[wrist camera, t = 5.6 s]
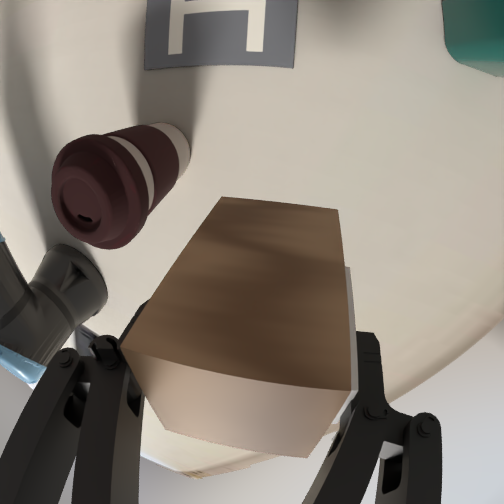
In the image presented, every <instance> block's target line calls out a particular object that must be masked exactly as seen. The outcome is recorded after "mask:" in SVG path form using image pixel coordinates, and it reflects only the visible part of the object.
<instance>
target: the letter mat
mask: <svg viewBox="0 0 504 504" xmlns="http://www.w3.org/2000/svg"><path fill="white" fill-rule="evenodd" d="M297 1H298V0H147V12H146V29H145V56H144V70H150V69H159V68H169V67H182V66H201V65H253V66H272V67H285V68H293V63H294V49H295V35H296V19H297Z"/></svg>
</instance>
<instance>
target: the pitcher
mask: <svg viewBox="0 0 504 504" xmlns="http://www.w3.org/2000/svg"><path fill="white" fill-rule="evenodd" d="M442 8H443V18H444V30H445V45H446V48H447V50H448V52H449V53H450V55H451V56H452V57H453V59H455V60H456V61H457V62H459V63H460V64H463V65H466V66H469V67H472V68H475V69H478V70H480V71H483V72H486V73H488V74H491V75H493V76H496V77H504V0H443V1H442Z"/></svg>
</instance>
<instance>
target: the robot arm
mask: <svg viewBox="0 0 504 504" xmlns="http://www.w3.org/2000/svg"><path fill="white" fill-rule="evenodd" d="M345 273H346V284H347V296H348V310H349V326H350V348H351V393H350V394H349V396H348V398H347V399H346V401H345V403H344V404H343V406H342V408H341V409H340V411H339V412H338V414H337V415H336V417H335V419H334V420H333V422H332V423H331V424H337V423H338V421H339V420H340V429H339V431H338V432H337V433H336V435H335V436H334V437H333V439H332V440H333V443H332V445H331V447H330V449H329V451H328V454H327V456H326V458H325V460H324V462H323V464H322V466H321V468H320V470H319V472H318V474H317V476H316V478H315V480H314V482H313V484H312V486H311V488H310V490H309V492H308V493H307V495H306V497H305V499H304V501H303V502H302V504H360V503H361V500H362V499H363V496H364V494H365V492H366V489H367V487H368V484H369V481H370V479H371V476H372V474H373V471H374V468H375V466H376V463H377V460H378V457H379V458H380V466H379V476H378V484H377V492H376V499H375V504H441V492H442V437H441V426H440V422H439V420H438V419H437V418H436V417H435V416H434V415H432V414H431V413H426V412H424V413H419V414H417V415H416V416H414V417H412V416H409V415H406V414H403V413H400V412H398V411H395V410H394V409H393V408H391V407H390V406H389V404H388V403H387V401H386V399H385V394H384V383H383V372H382V364H381V355H380V354H381V353H380V344H379V341H378V340H377V338H376V336H375V335H374V333H371V332H360V331H356V327H355V314H354V302H353V292H352V283H351V274H350V267H345ZM149 300H150V299H149ZM149 300H147V301H146V302H145V303H143V304H142V305H141V306H140V307H139V308H138V310H137V311H136V313H135V316H133V318H132V319H131V321H130V323H129V324H128V325H127V327H126V328H125V330H124V332H123V333H122V335H121V336H120V338H119V339H117V338H115V337H114V336H111V335H102V336H99V337H97V338H95V339H94V340H93V341H92V342H91V343H90V345H89V347H88V348H89V350H90V352H91V354H92V355H93V356H79V354H78V352H77V351H76V350H75V349H73V348H63V349H61V348H62V346H63V345H64V343H65V342H66V341H67V339H68V338H69V336H70V335H71V334H72V332H73V331H74V329H75V328H76V327H77V326H79V325H80V324H82V323H83V322H85V321H86V320H88V319H89V318H90V317H92V316H95V315H96V314H98V313H99V312H100V311H101V309H102V308H103V307H104V305H105V304H106V302H107V289H106V286H105V283H104V281H103V279H102V277H101V275H100V274H99V272H98V271H97V269H96V268H95V267H94V265H93V264H92V263H91V262H90V261H89V260H88V259H87V258H86V257H85V256H84V255H83V254H81V253H80V252H79V251H77V250H76V249H74V248H72V247H70V246H67V245H62V244H59V245H55V246H54V247H53V248H51V249H50V250H49V251H48V252H47V253H46V254H45V256H44V258H43V260H42V262H41V264H40V266H39V268H38V270H37V272H36V273H35V276H34V278H33V279H32V281H31V282H30V283H29V284H27V282H26V280H25V278H24V277H23V275H22V273H21V271H20V270H19V268H18V266H17V264H16V262H15V260H14V258H13V256H12V254H11V252H10V250H9V248H8V246H7V244H6V242H5V238H4V237H3V236H2V234H1V232H0V364H1V365H2V366H3V367H4V368H6V369H7V370H8V371H10V372H11V373H12V374H14V375H15V376H16V377H18V378H20V379H21V380H22V381H24V382H26V383H29V384H33V383H36V382H37V381H38V380H39V379H40V380H39V382H38V384H37V385H36V387H35V389H34V391H33V393H32V395H31V397H30V398H29V400H28V402H27V404H26V406H25V407H24V409H23V411H22V413H21V415H20V417H19V419H18V421H17V423H16V425H15V427H14V429H13V431H12V433H11V435H10V438H9V440H8V442H7V444H6V446H5V449H4V451H3V453H2V455H1V458H0V504H58V502H59V500H60V497H61V494H62V491H63V488H64V485H65V483H66V480H67V477H68V475H69V472H70V470H71V467H72V465H73V462H74V459H75V457H76V462H75V471H74V479H73V489H72V502H71V503H72V504H138V497H139V496H138V493H139V461H140V446H141V432H142V420H143V410H144V400H145V395H144V393H143V391H142V389H141V387H140V386H139V384H138V382H137V380H136V378H135V376H134V374H133V372H132V370H131V368H130V366H129V364H128V362H127V360H126V358H125V356H124V354H123V352H122V350H121V348H120V346H121V344H122V342H123V341H124V339H125V337H126V336H127V334H128V333H129V331H130V329H131V328H132V326H133V325H134V323H135V322H136V320H137V318H138V317H139V315H140V314H141V312H142V311H143V309H144V307H145V306H146V304H147V303H148V301H149ZM60 349H61V350H60ZM41 376H42V377H41ZM40 377H41V378H40Z"/></svg>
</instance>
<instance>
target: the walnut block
mask: <svg viewBox="0 0 504 504" xmlns="http://www.w3.org/2000/svg"><path fill="white" fill-rule="evenodd" d="M120 348H121V350H122V352H123V354H124V356H125V358H126V360H127V362H128V364H129V366H130V368H131V370H132V372H133V374H134V376H135V378H136V380H137V382H138V384H139V386H140V387H141V389H142V391H143V393H144V395H145V396H146V398H147V400H148V402H149V403H150V405H151V407H152V409H153V410H154V412H155V414H156V415H157V417H158V419H159V420H160V422H161V423H162V425H163V427H164V428H165V430H169V431H172V432H175V433H178V434H182V435H185V436H189V437H192V438H196V439H200V440H204V441H207V442H212V443H216V444H220V445H225V446H229V447H234V448H239V449H244V450H250V451H255V452H261V453H268V454H275V455H282V456H291V457H302V458H308V456H309V455H310V453H311V452H312V451H313V449H314V448H315V446H316V445H317V444H318V442H319V441H320V439H321V438H322V437H323V435H324V434H325V432H326V431H327V429H328V428H329V426H330V425H331V423H332V422H333V420H334V419H335V417H336V415H337V414H338V412H339V411H340V409H341V408H342V406H343V404H344V403H345V401H346V399H347V398H348V396H349V394H350V393H351V348H350V326H349V310H348V296H347V284H346V273H345V263H344V254H343V246H342V237H341V229H340V222H339V215H338V210H337V209H330V208H322V207H314V206H307V205H298V204H290V203H281V202H272V201H263V200H253V199H243V198H232V197H221V198H220V200H219V201H218V202H217V204H216V205H215V206H214V208H213V209H212V210H211V212H210V213H209V214H208V216H207V217H206V219H205V220H204V221H203V223H202V224H201V226H200V227H199V228H198V230H197V231H196V232H195V234H194V235H193V237H192V238H191V240H190V241H189V242H188V244H187V245H186V247H185V248H184V249H183V251H182V252H181V254H180V255H179V257H178V258H177V260H176V261H175V262H174V264H173V265H172V267H171V268H170V270H169V271H168V273H167V274H166V276H165V277H164V279H163V280H162V282H161V283H160V285H159V286H158V288H157V289H156V291H155V292H154V294H153V295H152V297H151V298H150V300H149V301H148V303H147V304H146V306H145V307H144V309H143V311H142V312H141V314H140V315H139V317H138V318H137V320H136V322H135V323H134V325H133V326H132V328H131V329H130V331H129V333H128V334H127V336H126V337H125V339H124V341H123V342H122V344H121V346H120Z"/></svg>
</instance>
